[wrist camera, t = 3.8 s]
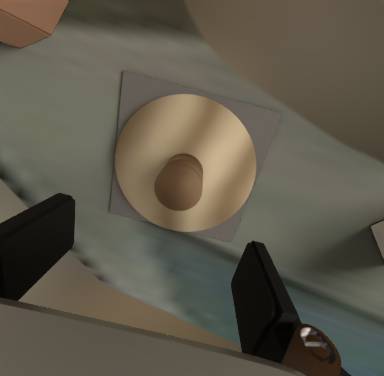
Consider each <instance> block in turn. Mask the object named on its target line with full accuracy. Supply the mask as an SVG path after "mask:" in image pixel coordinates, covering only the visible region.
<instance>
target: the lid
mask: <svg viewBox="0 0 384 376" xmlns="http://www.w3.org/2000/svg"><path fill="white" fill-rule="evenodd" d="M115 168H116V175H117V179H118V182H119V185H120V187H121V190H122V192H123V194H124V196H125V197H126V199H127V200H128V202H129V203H130V204H131V205H132V206H133V208H134V209H135V210H136V211H137V212H138V213H140V214H141V215H142V216H143V217H145V218H146V219H147V220H149V221H151V222H152V223H154V224H156V225H159V226H161V227H164V228H167V229H170V230H175V231H184V232H192V231H201V230H205V229H209V228H212V227H214V226H217V225H219V224H221V223H223V222H224V221H226V220H227V219H229V218H230V217H232V216H233V215H234V214H235V213H236V212H237V211H238V210H239V209H240V208H241V207H242V205H243V204H244V203H245V201H246V199H247V198H248V196H249V194H250V192H251V190H252V187H253V184H254V180H255V175H256V155H255V150H254V146H253V143H252V140H251V138H250V135H249V133H248V132H247V130H246V128H245V126H244V125H243V124H242V123H241V121H240V120H239V119H238V118H237V117H236V116H235V115H234V114H233V113H232V112H231V111H230V110H228V109H227V108H226V107H224V106H223V105H221V104H219V103H217V102H215V101H214V100H211V99H208V98H205V97H203V96H197V95H192V94H176V95H169V96H165V97H161V98H159V99H156V100H154V101H152V102H150V103H148V104H147V105H145V106H143V107H142V108H141V109H140V110H138V111H137V112H136V113H135V114H134V115H133V116H132V117H131V118H130V119H129V121H128V122H127V124H126V125H125V127H124V128H123V130H122V132H121V134H120V137H119V140H118V143H117V147H116V153H115Z"/></svg>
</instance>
